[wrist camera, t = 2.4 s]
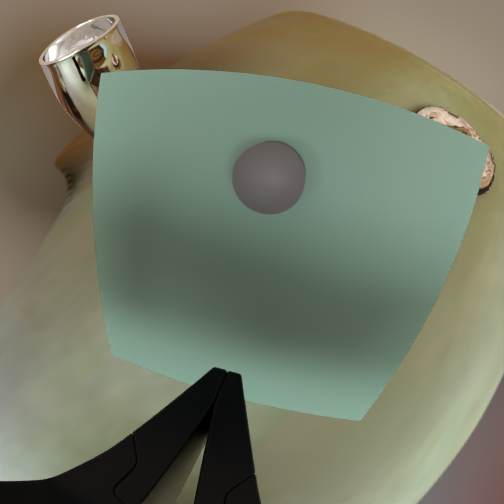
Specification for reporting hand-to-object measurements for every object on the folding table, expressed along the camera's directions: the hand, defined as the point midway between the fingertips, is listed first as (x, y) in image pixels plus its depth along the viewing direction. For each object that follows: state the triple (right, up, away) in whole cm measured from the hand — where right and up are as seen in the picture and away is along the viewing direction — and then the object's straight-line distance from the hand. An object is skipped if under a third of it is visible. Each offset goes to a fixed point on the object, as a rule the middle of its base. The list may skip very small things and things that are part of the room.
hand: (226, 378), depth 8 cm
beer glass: (-11, +14, +20) cm, 26 cm away
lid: (+1, +3, +3) cm, 5 cm away
